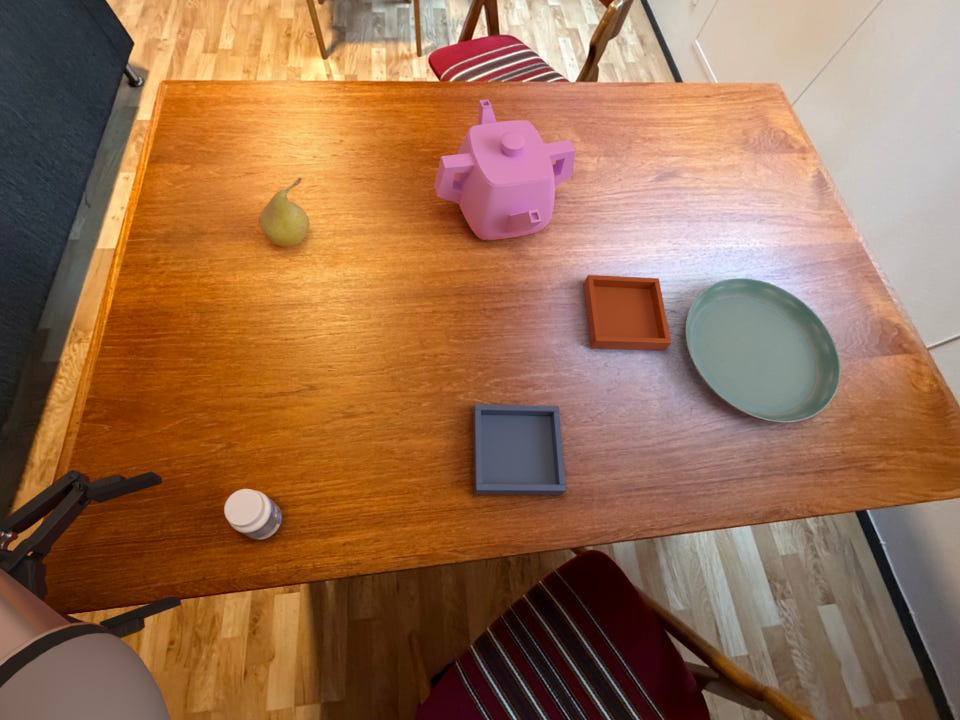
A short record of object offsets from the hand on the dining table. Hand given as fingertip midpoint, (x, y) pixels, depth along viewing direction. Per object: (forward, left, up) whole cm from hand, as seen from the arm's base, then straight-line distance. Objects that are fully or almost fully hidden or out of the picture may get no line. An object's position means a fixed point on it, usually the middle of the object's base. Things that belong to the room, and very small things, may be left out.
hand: (166, 536), depth 59 cm
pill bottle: (+3, -8, -7) cm, 11 cm away
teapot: (+54, -39, -7) cm, 67 cm away
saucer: (+28, -78, -7) cm, 83 cm away
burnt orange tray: (+34, -58, -7) cm, 67 cm away
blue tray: (+12, -40, -7) cm, 42 cm away
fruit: (+46, -6, -7) cm, 47 cm away
